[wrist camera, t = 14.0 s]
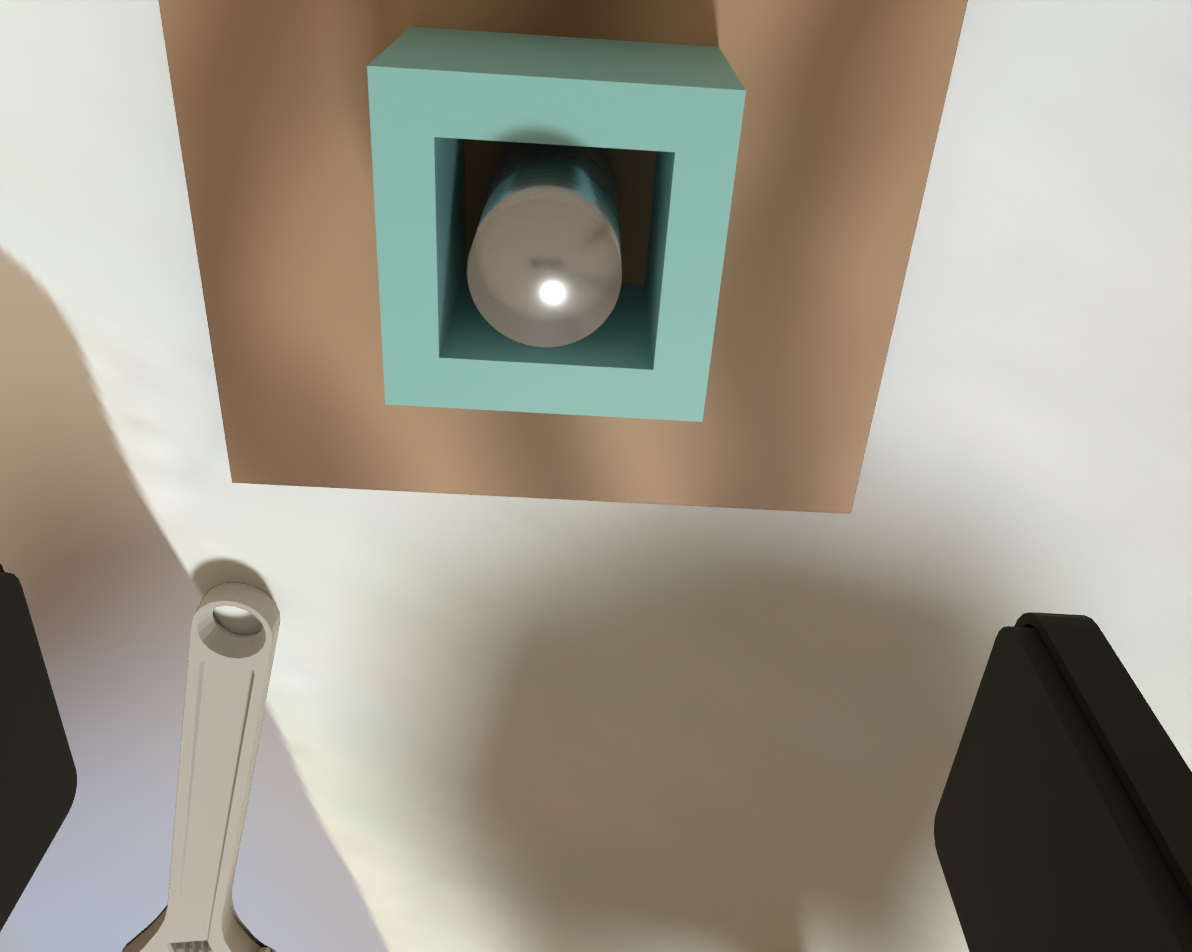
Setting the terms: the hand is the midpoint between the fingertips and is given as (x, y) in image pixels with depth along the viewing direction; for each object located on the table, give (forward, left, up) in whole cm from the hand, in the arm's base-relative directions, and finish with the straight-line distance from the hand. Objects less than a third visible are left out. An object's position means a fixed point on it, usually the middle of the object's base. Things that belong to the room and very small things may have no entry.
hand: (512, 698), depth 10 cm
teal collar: (0, 0, -17) cm, 17 cm away
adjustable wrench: (+12, +26, -20) cm, 35 cm away
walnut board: (0, 0, -19) cm, 19 cm away
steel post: (0, 0, -17) cm, 17 cm away
